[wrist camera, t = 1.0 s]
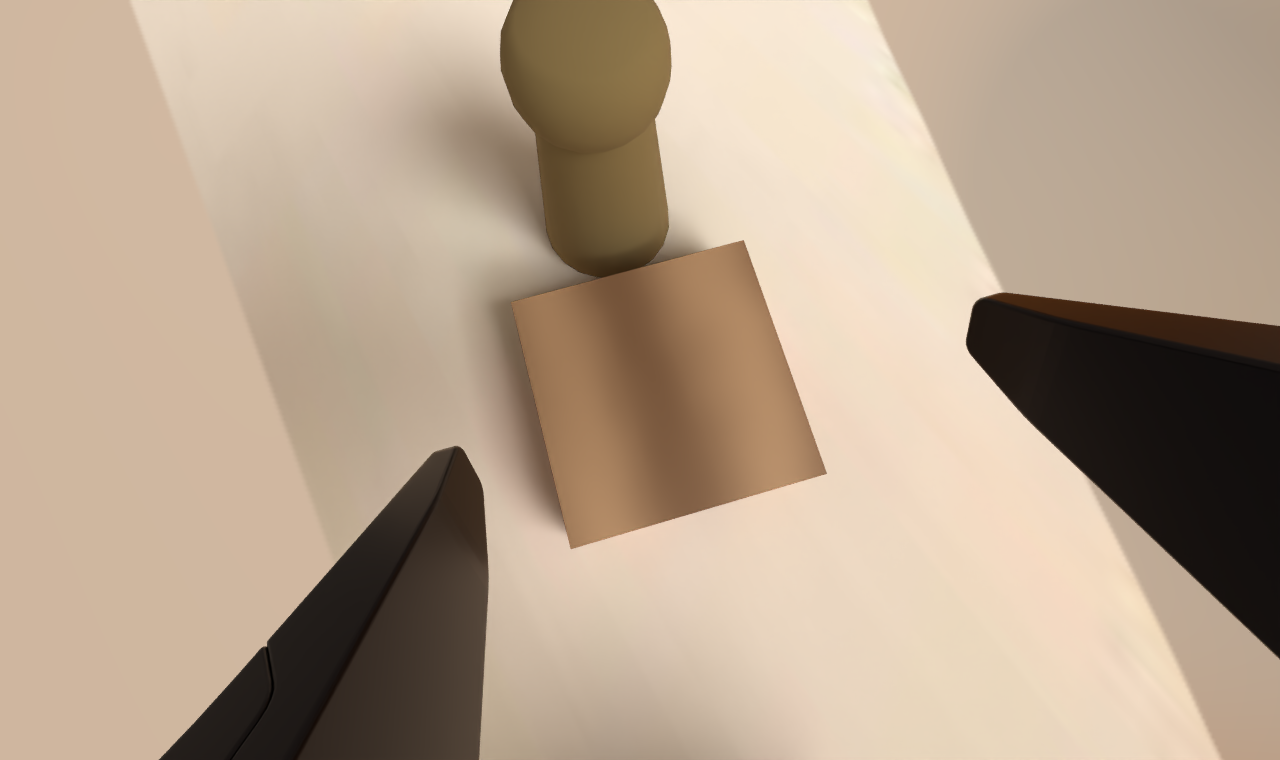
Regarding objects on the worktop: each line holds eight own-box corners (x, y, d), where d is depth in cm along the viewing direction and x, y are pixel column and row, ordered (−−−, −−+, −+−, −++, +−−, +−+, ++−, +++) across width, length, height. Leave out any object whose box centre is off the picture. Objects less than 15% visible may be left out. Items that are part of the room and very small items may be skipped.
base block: (731, 270, 24) (743, 240, 21) (801, 475, 22) (827, 473, 19) (527, 325, 23) (510, 302, 20) (580, 540, 21) (570, 549, 18)
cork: (637, 297, 24) (632, 138, 13) (524, 247, 24) (428, 55, 13) (688, 193, 25) (725, -34, 14) (579, 148, 25) (533, -104, 14)
